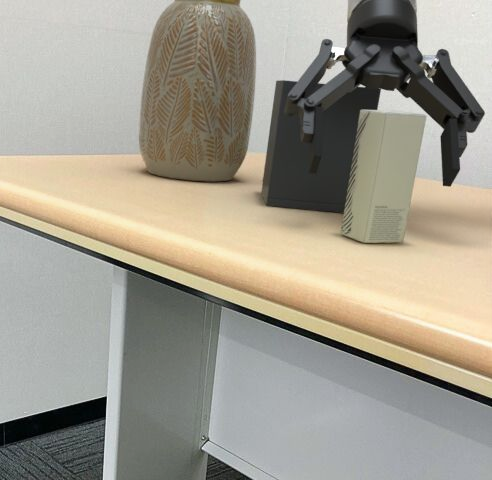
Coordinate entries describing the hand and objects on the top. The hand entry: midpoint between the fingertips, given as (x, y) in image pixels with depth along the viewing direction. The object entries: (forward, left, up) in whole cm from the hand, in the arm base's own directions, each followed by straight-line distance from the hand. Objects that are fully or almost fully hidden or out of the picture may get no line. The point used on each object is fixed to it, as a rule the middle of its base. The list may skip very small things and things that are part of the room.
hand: (382, 171), depth 76 cm
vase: (+45, +9, -7) cm, 47 cm away
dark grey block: (+23, -2, -7) cm, 24 cm away
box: (0, 0, -7) cm, 7 cm away
